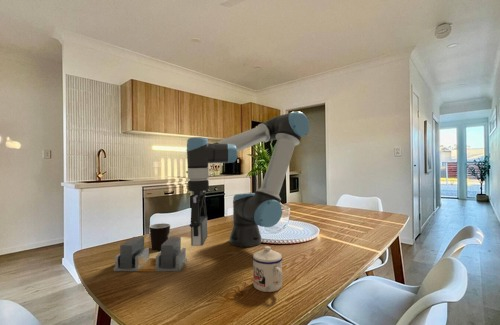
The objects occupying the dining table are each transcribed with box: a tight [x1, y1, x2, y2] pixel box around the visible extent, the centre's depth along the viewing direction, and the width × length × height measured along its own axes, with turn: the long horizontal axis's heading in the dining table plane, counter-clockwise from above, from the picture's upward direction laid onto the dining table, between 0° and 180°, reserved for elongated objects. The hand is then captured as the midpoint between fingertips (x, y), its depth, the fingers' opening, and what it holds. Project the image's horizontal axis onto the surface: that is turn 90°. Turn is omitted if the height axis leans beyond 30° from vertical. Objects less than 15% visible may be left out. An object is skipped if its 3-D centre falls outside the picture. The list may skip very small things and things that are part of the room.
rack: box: [113, 236, 188, 273], centre depth 90 cm, size 23×10×9 cm, turn 90°
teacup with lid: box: [252, 245, 284, 293], centre depth 75 cm, size 12×9×12 cm
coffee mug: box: [149, 222, 171, 252], centre depth 110 cm, size 12×9×10 cm
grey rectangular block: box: [190, 215, 209, 247], centre depth 92 cm, size 4×10×8 cm, turn 0°
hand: (199, 239), depth 92 cm, fingers closed on grey rectangular block, 10 cm apart
